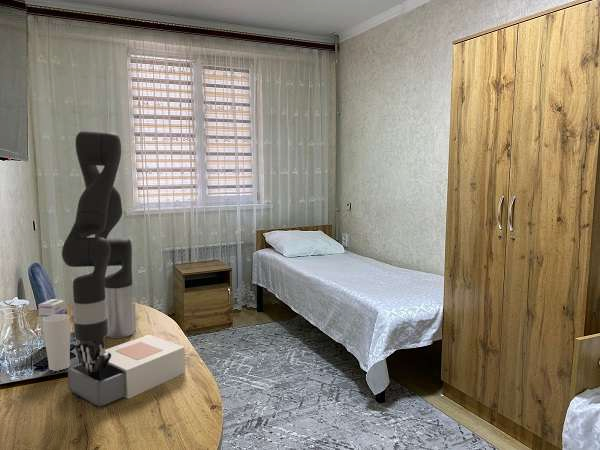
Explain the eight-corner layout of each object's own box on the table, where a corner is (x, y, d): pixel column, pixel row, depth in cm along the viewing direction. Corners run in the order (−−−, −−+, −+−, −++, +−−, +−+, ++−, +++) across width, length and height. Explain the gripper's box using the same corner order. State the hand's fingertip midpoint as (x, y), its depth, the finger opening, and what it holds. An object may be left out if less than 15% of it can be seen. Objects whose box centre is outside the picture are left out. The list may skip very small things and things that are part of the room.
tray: (99, 407, 107) (98, 383, 107) (68, 389, 116) (67, 368, 115) (162, 378, 122) (161, 358, 121) (131, 365, 130) (130, 345, 129)
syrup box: (57, 349, 143) (54, 304, 141) (40, 347, 144) (37, 303, 142) (69, 342, 149) (67, 299, 147) (54, 341, 150) (51, 298, 148)
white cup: (68, 361, 134) (65, 312, 132) (76, 368, 130) (73, 317, 128) (42, 368, 130) (39, 317, 128) (50, 375, 125) (46, 323, 123)
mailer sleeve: (128, 398, 113) (126, 369, 112) (93, 381, 122) (91, 354, 121) (185, 372, 127) (184, 346, 126) (150, 358, 136) (149, 334, 135)
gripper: (120, 319, 111) (123, 386, 113) (90, 309, 118) (94, 372, 120) (90, 327, 105) (94, 398, 107) (61, 316, 112) (66, 383, 114)
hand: (94, 384), depth 114 cm, fingers closed
